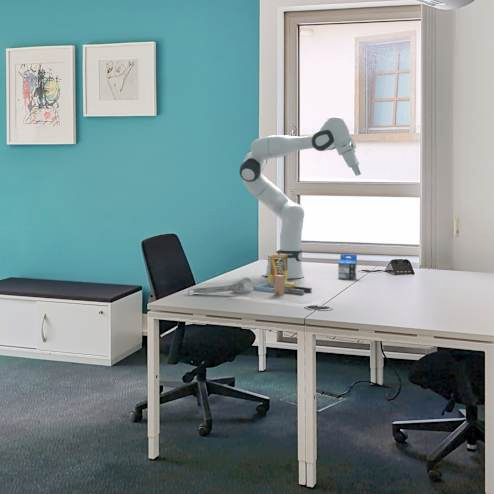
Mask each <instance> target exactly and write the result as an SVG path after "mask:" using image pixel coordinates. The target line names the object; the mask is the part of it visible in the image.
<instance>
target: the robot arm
mask: <svg viewBox="0 0 494 494" xmlns="http://www.w3.org/2000/svg"><path fill="white" fill-rule="evenodd" d="M308 149H310V150H311V149H315V150H317V151H318V152H326V151H333V150H335V149H336V152H337V154H338V156H342V158H343V160H344V162H345V163H346V165H347V167H348V168H351V170H352V172H353V173H354V175H355V176H356V177H357V176H360V175H362V173H361V170H360V168H359V167H360V166H359V165H360V162H359V160H358V157H357V155H356V150H355V149H357V146H356V144H355V140H354V139H353V137H352V136H351V134H350V130H349V128H348V126H347V123H346V122H345V121H344V119H343V118H342V116H339V115H338V116H331V117H329V118H327V119H325V120H324V123H323V124H322V126H321V127H320V128H319V129H318V131H316V133H314V134H313V135H307V136H306V135H305V136H291V135H283V134H277V135H276V134H275V135H274V134H273V135H268V136H262V137H260V138H257V139H254V140H253V141H252V142H251V144H250V150H249V151H248V153H247V154H246V155H245V157H244V158H243V161H242V163H241V165H240V167H239V176H240V178H241V179H242V180H243V181H242V182H243V186H244V187H245V188H246V189H247V191H249V193H250V194H251V195H252V196H254V197H255V198H256V199H257V200H258V201H259V202H260V203H261V204H263V205H264V206H266V207H267V208H268V210H270V212H272V213H273V214H274V215H275V216H277V218H278V219H280V221H281V227H280V228H281V229H280V235H279V237H280V239H279V250H276V251H275V253H276V254H277V255H278V254H286V255H287V279H301V278H302V279H303V278H304V277H305V275H304V271H303V270H304V269H303V260H302V259H303V250H302V233H303V232H302V231H303V226H304V225H303V224H304V217H305V211H304V209H303V206H301V205H300V204H299V203H296V202H294V201H292V200H291V199H290V198H289V197H288V196H287V195H286V194H285V193H284V192H283V191H282V190H281V189H280V188H279V187H277V186H276V185H275V184H274V183H273V182H271V181H270V180H269V179H268V178H267V177H266V176H264V174H263V171H264V169H265V167H266V165H267V162H268V160H270V159H271V160H272V159H278V158H279V159H280V158H283V157H286V156H288V155H291V154H294V153H296V152H299V151H302V150H308ZM261 276H262V277H266V276H268V264H266V269H265V272H262V274H261Z"/></svg>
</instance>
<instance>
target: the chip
mask: <svg viewBox="0 0 494 494" xmlns="http://www.w3.org/2000/svg"><path fill="white" fill-rule="evenodd" d="M296 286H297V282H293V281H287V282H286V283H284V288H291V289H296Z"/></svg>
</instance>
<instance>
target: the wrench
mask: <svg viewBox="0 0 494 494" xmlns="http://www.w3.org/2000/svg"><path fill="white" fill-rule="evenodd" d="M246 283H250V284H253V283H254V281H253V279H251V278H249V277H247V276H246V277H245V276H244V277H241V279H239V280H237V281H236V282H233V283H230V284H222V285H213V286H211V285H210V286H202V287H194V288H193V287H192V288H189V289H188V291H187V294H188V293H190V290H192V291H193V293H204V294H203V295H205V294H213V293H214V294H215V293H222V292H234V293H251V292H252V289H250V288H248V287H247V288H246V286H245V284H246Z"/></svg>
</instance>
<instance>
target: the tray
mask: <svg viewBox="0 0 494 494" xmlns="http://www.w3.org/2000/svg"><path fill="white" fill-rule="evenodd" d="M252 289H253V291H259V292H266V293H267V292H268V293H274V284H272V283H268V282H267V283H262V284H258V285H255V286H253V287H252Z"/></svg>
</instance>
